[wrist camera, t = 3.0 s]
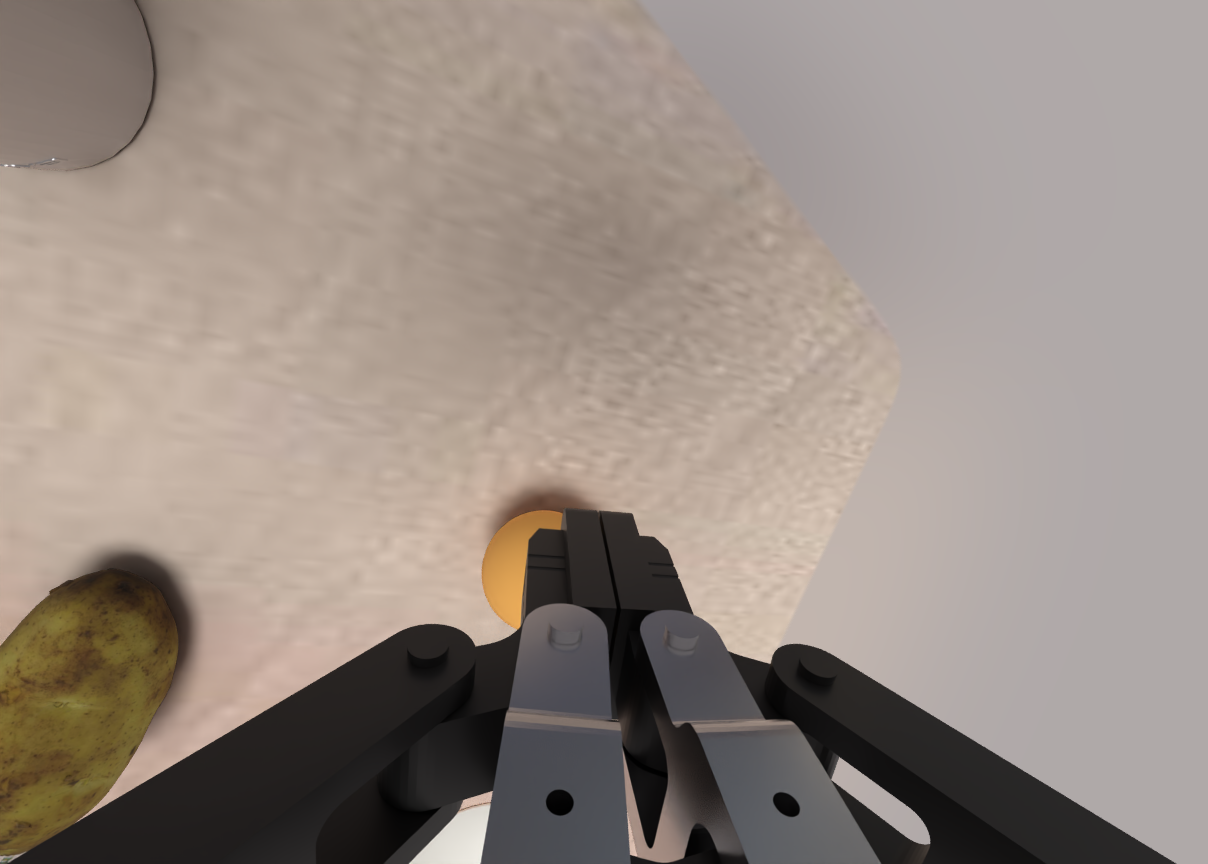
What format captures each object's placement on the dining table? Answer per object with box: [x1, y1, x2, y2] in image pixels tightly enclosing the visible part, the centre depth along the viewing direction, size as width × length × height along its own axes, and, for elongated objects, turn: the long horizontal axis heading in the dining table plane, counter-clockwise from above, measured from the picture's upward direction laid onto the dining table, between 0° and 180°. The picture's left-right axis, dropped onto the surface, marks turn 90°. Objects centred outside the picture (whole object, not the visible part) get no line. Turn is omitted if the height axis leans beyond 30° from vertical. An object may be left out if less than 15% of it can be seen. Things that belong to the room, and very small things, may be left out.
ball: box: [482, 510, 563, 630], centre depth 29 cm, size 6×6×6 cm
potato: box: [0, 568, 178, 856], centre depth 27 cm, size 8×13×8 cm, turn 133°
